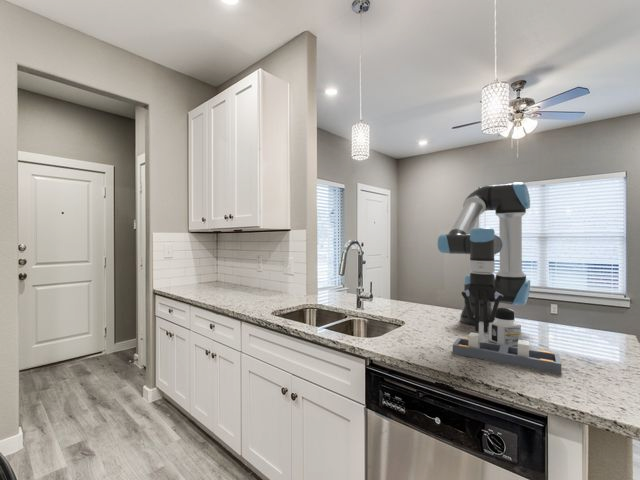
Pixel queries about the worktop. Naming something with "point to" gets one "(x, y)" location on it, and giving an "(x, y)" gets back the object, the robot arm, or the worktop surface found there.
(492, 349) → the tray
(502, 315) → the container
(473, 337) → the tab
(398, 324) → the worktop surface
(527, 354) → the tab
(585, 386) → the worktop surface
